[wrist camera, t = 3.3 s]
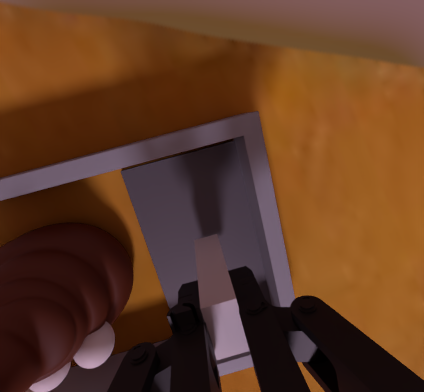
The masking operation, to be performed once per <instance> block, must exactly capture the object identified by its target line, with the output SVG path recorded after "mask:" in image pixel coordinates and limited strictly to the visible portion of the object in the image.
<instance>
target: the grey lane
mask: <svg viewBox="0 0 424 392" xmlns="http://www.w3.org/2000/svg"><path fill="white" fill-rule="evenodd" d="M232 138H233V139H234V141H230V142H226V143H223V144H219V145H215V146H211V147H208V148H204V149H200V150H197V151H193V152H189V153H185V154H182V155H178V156H174V157H171V158H167V159H163V160H159V161H156V162H152V163H148V164H145V165H141V166H137V167H133V168H130V169H126V170H122V171H121V174H122V176H123V179H124V182H125V185H126V188H127V190H128V193H129V196H130V199H131V202H132V205H133V207H134V210H135V213H136V216H137V219H138V221H139V224H140V227H141V230H142V233H143V235H144V238H145V241H146V244H147V247H148V250H149V252H150V255H151V258H152V261H153V264H154V266H155V269H156V272H157V275H158V278H159V280H160V283H161V286H162V289H163V292H164V295H165V297H166V300H167V303H168V306H169V309H171V308H172V307H173V306H175V305H176V304H178V291H179V289H180V287H181V285H182V284H185V283H189V282H192V281H196V280H198V277H197V266H196V255H195V244H194V240H197V239H201V238H204V237H208V236H211V235H215V234H217V235H218V239H219V242H220V246H221V249H222V252H223V256H224V259H225V262H226V266H227V269H228V271H229V270H232V269H236V268H239V267H243V266H247V267H248V268H250V269H251V270H252V272H253V274H254V276H255V278H256V281H257V283H258V285H259V287H260V289H261V291H262V294H263V296H264V298H265V300H266V301H267V302H268V303H269V304H271V305H273V306H277V307H290V305H291V303H292V301H293V300H295V296H294V291H293V286H292V281H291V275H290V270H289V265H288V260H287V255H286V250H285V245H284V240H283V235H282V229H281V224H280V219H279V214H278V209H277V204H276V199H275V194H274V189H273V184H272V178H271V173H270V168H269V163H268V158H267V153H266V148H265V143H264V138H263V133H262V127H261V122H260V117H259V112H258V111H256V112H249V113H243V114H239V115H235V116H231V117H228V118H224V119H220V120H216V121H213V122H209V123H205V124H201V125H198V126H194V127H190V128H186V129H183V130H179V131H175V132H171V133H167V134H164V135H160V136H156V137H152V138H149V139H145V140H141V141H137V142H134V143H130V144H126V145H122V146H119V147H115V148H111V149H107V150H104V151H100V152H96V153H92V154H89V155H85V156H81V157H77V158H73V159H70V160H66V161H62V162H58V163H55V164H51V165H47V166H43V167H40V168H36V169H32V170H28V171H25V172H21V173H17V174H13V175H10V176H6V177H2V178H0V201H2V200H5V199H9V198H13V197H16V196H20V195H24V194H28V193H31V192H35V191H39V190H43V189H46V188H50V187H54V186H57V185H61V184H65V183H69V182H72V181H76V180H80V179H83V178H87V177H91V176H95V175H98V174H102V173H106V172H110V171H113V170H117V169H121V168H124V167H128V166H132V165H136V164H139V163H143V162H147V161H151V160H154V159H158V158H162V157H165V156H169V155H173V154H177V153H180V152H184V151H188V150H191V149H195V148H199V147H203V146H206V145H210V144H214V143H218V142H221V141H225V140H229V139H232ZM167 340H168V339H167ZM167 340H164V341H160V342H157V343H153V345H154V346H155V347H157V346H158V345H160V344H162V343H164V342H165V341H167ZM127 352H128V351H126V352H122V353H119V354H115V355H112V356H110V357H109V359H108V360H107V361H106V362H105V363H104V364H102V365H100V366H98V367H95V368H91V369H87V368H83V367H81V366H79V365H77V366H74V367H71V368H70V369H69V373H68V375H67V377H66V378H65V380H64V381H63V382H62V383H61V384H60V385H59V386H58V387H57V388H55V389H52V390H50V391H48V392H107V391H108V388H109V386H110V384H111V382H112V380H113V378H114V376H115V374H116V372H117V370H118V368H119V366H120V364H121V362H122V360H123V358H124V357H125V355H126V354H127ZM215 359H216V356H215ZM216 364H217V367H218V370H219V376H222V375H226V374H229V373H233V372H236V371H239V370H243V369H246V368H250V367H253V362H252V358H251V355H250V351H248V352H244V353H241V354H237V355H234V356H230V357H227V358H224V359H220V360H216Z"/></svg>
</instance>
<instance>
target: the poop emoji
mask: <svg viewBox="0 0 424 392" xmlns="http://www.w3.org/2000/svg"><path fill="white" fill-rule="evenodd" d="M132 286H133V267H132V263H131V260H130V258H129V256H128V254H127V252H126V250H125V249H124V247H123V246H122V245H121V244H120V243H119V242H118V241H117V240H116V239H115V238H114V237H113V236H111V235H110V234H109V233H107V232H105V231H103V230H101V229H99V228H97V227H94V226H91V225H87V224H81V223H59V224H53V225H48V226H44V227H41V228H38V229H35V230H33V231H30V232H28V233H26V234H24V235H22V236H20V237H18V238H16V239H15V240H13V241H11V242H9V243H7V244H5V245H3V246H1V247H0V392H26V391H27V390H28V389H30V390H32V391H34V392H48V391H50V390H52V389H55V388H57V387H58V386H59V385H60V384H61V383H62V382H63V381H64V380H65V378H66V377H67V375H68V373H69V369H70V365H71V361H72V360H75V362H76V363H77V364H78V365H79V366H81V367H83V368H87V369H91V368H95V367H98V366H100V365H102V364H104V363H105V362H106V361H107V360H108V359H109V357H110V356H111V354H112V351H113V348H114V344H115V334H114V331H113V328H112V327H111V325H112V324H113V322H114V321H115V320H116V319H117V318H118V316H119V315H120V313H121V312H122V310H123V309H124V307H125V305H126V303H127V301H128V299H129V297H130V294H131V290H132Z"/></svg>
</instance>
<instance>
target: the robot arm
mask: <svg viewBox="0 0 424 392" xmlns="http://www.w3.org/2000/svg"><path fill="white" fill-rule="evenodd" d="M194 244H195V255H196V266H197V277H198V280H196V281H192V282H189V283H185V284H182V285H181V287H180V289H179V291H178V304H176V305H175V306H173V307H172V308H171V309H170V311H169V312H168V314H167V319H168V321H169V324H170V327H171V330H172V332H173V335H172V336H171V337H170V338H169V339H168V340H167V341H165V342H164V343H162V344H160V345H158V346H157V347H155V346H154V345H153V344H152V343H148V342H144V343H140V344H138V345H136V346H134V347H133V348H132V349H130V350H129V351H128V352H127V354H126V355H125V357H124V358H123V360H122V362H121V364H120V366H119V368H118V370H117V372H116V374H115V376H114V378H113V380H112V382H111V384H110V386H109V388H108V391H107V392H222V390H221V383H220V376H219V370H218V367H217V364H216V360H220V359H224V358H227V357H230V356H234V355H237V354H241V353H244V352H248V351H250V355H251V358H252V362H253V366H254V369H255V373H256V376H257V380H258V383H259V387H260V390H261V392H310V389H309V387H308V385H307V383H306V381H305V379H304V377H303V374H302V372H301V370H300V368H299V366H298V364H297V362H302V363H303V365H304V367H305V368H306V369H307V370H308V371H309V373H310V374H311V375H312V376H313V377H314V379H315V380H316V381H317V382H318V384H319V385H320V386H321V387H322V388H323V390H324V391H325V392H424V380H422V379H421V378H420V377H419V376H417V375H416V374H415V373H414V372H412V371H411V370H410V369H408V368H407V367H406V366H405V365H403V364H402V363H401V362H400V361H398V360H397V359H396V358H395V357H393V356H392V355H391V354H389V353H388V352H387V351H386V350H384V349H383V348H382V347H381V346H379V345H378V344H377V343H375V342H374V341H373V340H372V339H370V338H369V337H368V336H367V335H365V334H364V333H363V332H361V331H360V330H359V329H358V328H356V327H355V326H354V325H353V324H351V323H350V322H349V321H347V320H346V319H345V318H344V317H342V316H341V315H340V314H339V313H337V312H336V311H335V310H334V309H332V308H331V307H330V306H328V305H327V304H326V303H325V302H323V301H322V300H321V299H319V298H317V297H314V296H301V297H298V298H296V299H295V300H293V301H292V303H291V305H290V307H277V306H273V305H271V304H269V303H268V302H267V301H266V300H265V298H264V296H263V294H262V291H261V289H260V287H259V285H258V283H257V281H256V278H255V276H254V274H253V272H252V270H251V269H250V268H248V267H247V266H243V267H239V268H236V269H232V270H229V271H228V269H227V266H226V262H225V259H224V256H223V252H222V249H221V246H220V242H219V239H218V235H217V234H215V235H211V236H208V237H204V238H201V239H197V240H194ZM215 356H216V359H215Z"/></svg>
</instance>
